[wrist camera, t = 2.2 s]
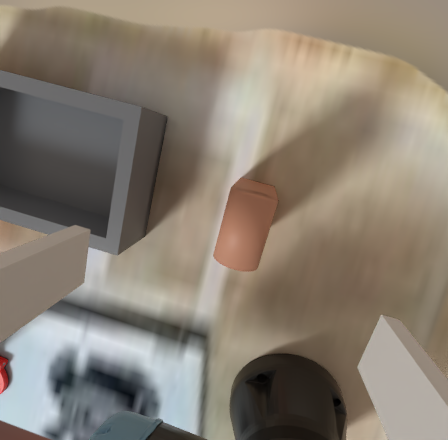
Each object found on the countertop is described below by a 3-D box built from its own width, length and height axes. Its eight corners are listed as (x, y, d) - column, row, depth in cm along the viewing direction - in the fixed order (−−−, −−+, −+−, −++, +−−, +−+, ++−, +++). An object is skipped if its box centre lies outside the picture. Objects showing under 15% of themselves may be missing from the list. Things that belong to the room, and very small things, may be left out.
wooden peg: (274, 186, 32) (279, 205, 21) (259, 234, 34) (257, 276, 22) (241, 177, 32) (227, 190, 21) (228, 225, 34) (209, 262, 22)
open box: (167, 116, 32) (141, 106, 25) (145, 236, 36) (117, 255, 29) (-12, 69, 34) (-81, 49, 27) (-15, 189, 38) (-76, 196, 31)
